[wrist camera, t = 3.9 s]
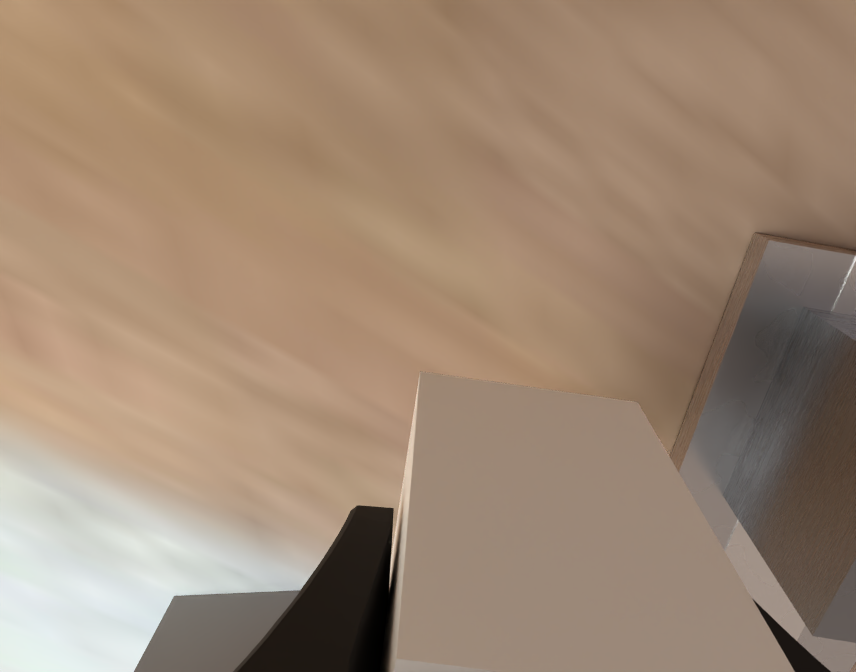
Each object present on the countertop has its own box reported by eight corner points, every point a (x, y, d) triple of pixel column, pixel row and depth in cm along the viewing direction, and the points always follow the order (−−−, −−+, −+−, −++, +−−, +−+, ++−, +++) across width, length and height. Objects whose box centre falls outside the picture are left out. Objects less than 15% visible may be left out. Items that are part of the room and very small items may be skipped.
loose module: (637, 401, 11) (830, 732, 6) (574, 605, 13) (669, 1005, 8) (420, 371, 11) (394, 677, 6) (387, 581, 13) (343, 969, 8)
